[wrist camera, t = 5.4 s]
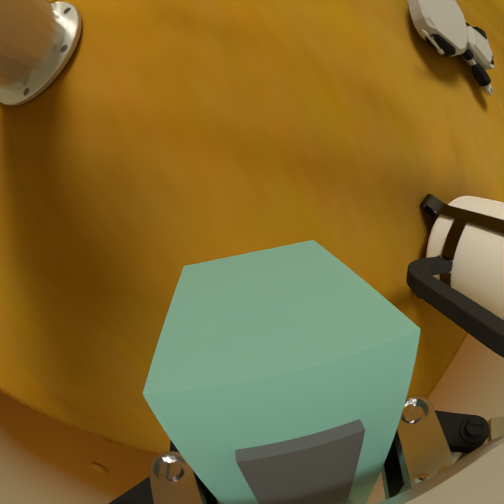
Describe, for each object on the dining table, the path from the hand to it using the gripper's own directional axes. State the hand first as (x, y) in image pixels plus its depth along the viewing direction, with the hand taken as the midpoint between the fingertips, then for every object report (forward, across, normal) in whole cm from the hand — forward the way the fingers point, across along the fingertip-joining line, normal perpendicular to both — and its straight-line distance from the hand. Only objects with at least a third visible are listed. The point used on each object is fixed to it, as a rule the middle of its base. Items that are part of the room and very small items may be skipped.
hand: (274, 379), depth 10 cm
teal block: (+1, 0, 0) cm, 1 cm away
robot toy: (+15, -29, -23) cm, 40 cm away
